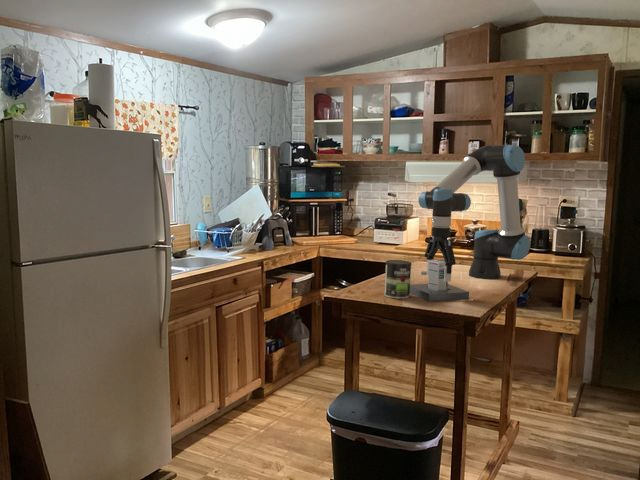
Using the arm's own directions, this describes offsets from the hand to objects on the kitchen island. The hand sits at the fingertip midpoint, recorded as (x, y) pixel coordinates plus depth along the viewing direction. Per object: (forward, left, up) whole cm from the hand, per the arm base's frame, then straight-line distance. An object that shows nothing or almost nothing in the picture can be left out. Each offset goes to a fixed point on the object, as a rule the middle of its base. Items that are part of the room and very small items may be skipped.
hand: (438, 278), depth 225 cm
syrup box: (0, 0, -7) cm, 7 cm away
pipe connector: (-9, -20, -7) cm, 23 cm away
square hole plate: (0, 0, -7) cm, 7 cm away
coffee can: (+17, -3, -8) cm, 19 cm away
